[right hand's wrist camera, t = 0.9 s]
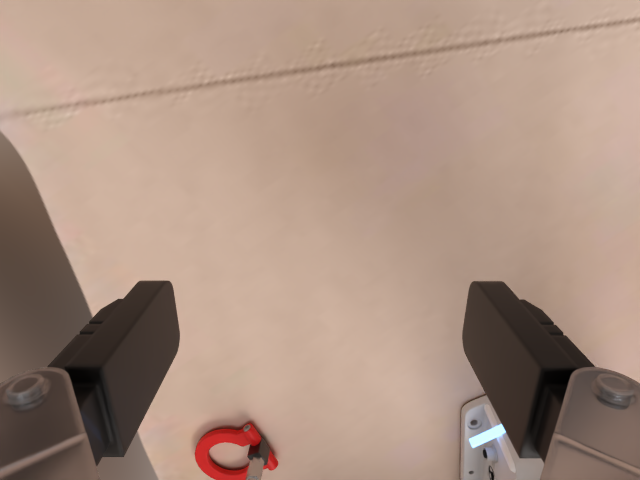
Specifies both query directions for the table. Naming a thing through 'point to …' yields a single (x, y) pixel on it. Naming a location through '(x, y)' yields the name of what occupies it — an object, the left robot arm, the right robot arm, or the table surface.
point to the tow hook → (258, 449)
